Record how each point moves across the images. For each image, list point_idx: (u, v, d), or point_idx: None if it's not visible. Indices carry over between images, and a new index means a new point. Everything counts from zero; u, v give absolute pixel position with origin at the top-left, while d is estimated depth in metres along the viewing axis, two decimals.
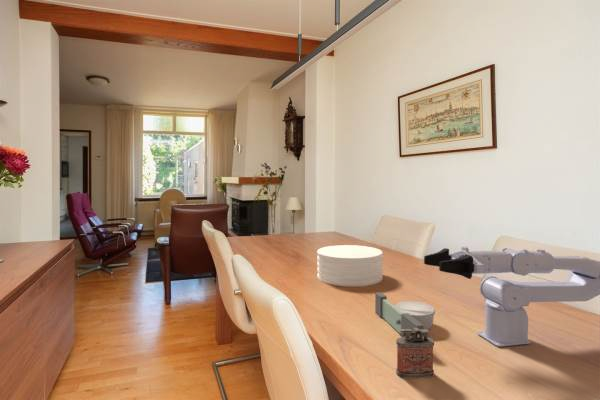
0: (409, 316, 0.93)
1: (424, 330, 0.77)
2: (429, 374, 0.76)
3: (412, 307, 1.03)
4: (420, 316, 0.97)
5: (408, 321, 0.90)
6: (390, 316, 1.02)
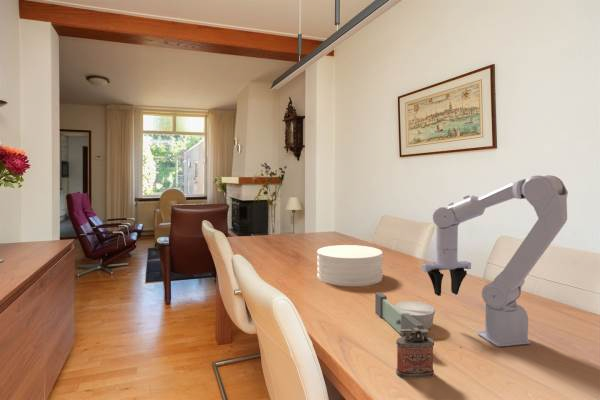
0: (409, 316, 0.93)
1: (424, 330, 0.77)
2: (429, 374, 0.76)
3: (412, 307, 1.03)
4: (420, 316, 0.97)
5: (408, 321, 0.90)
6: (390, 316, 1.02)
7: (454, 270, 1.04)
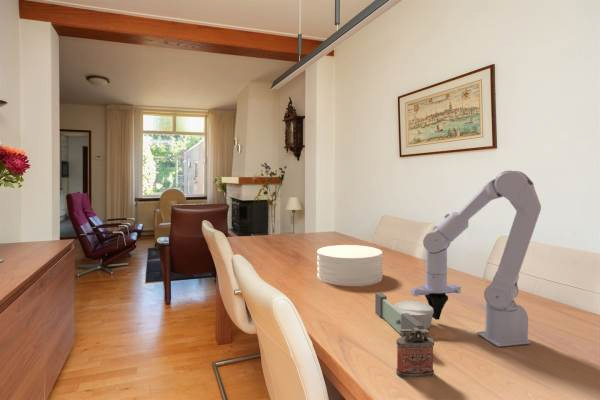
0: (409, 316, 0.93)
1: (424, 330, 0.77)
2: (429, 374, 0.76)
3: (411, 306, 1.03)
4: (418, 316, 0.97)
5: (408, 321, 0.90)
6: (390, 316, 1.02)
7: None
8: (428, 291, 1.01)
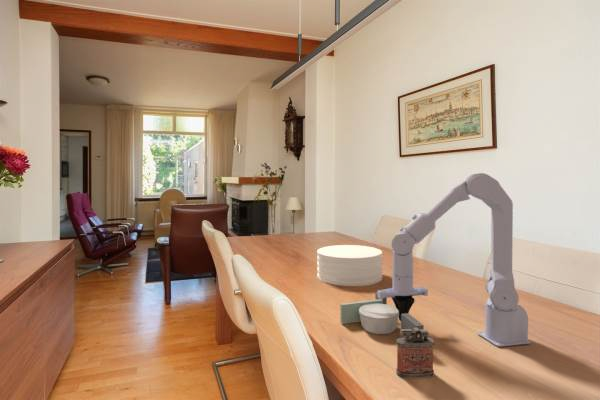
0: (409, 316, 0.93)
1: (424, 330, 0.77)
2: (429, 374, 0.76)
3: (377, 309, 1.01)
4: (379, 319, 0.95)
5: (408, 321, 0.90)
6: None
7: None
8: (394, 293, 0.99)
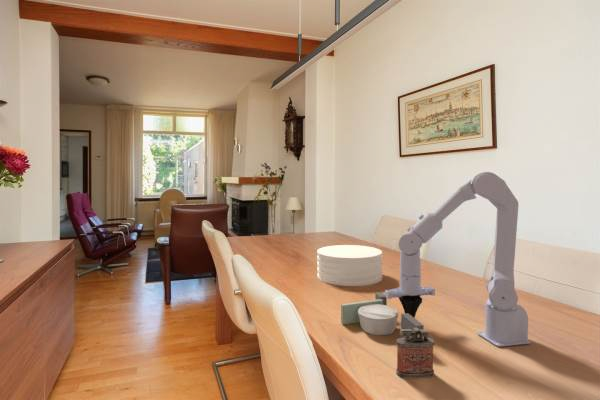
0: (409, 316, 0.93)
1: (424, 330, 0.77)
2: (429, 374, 0.76)
3: (376, 310, 1.01)
4: (378, 320, 0.95)
5: (408, 321, 0.90)
6: None
7: (410, 297, 1.02)
8: (401, 293, 1.00)
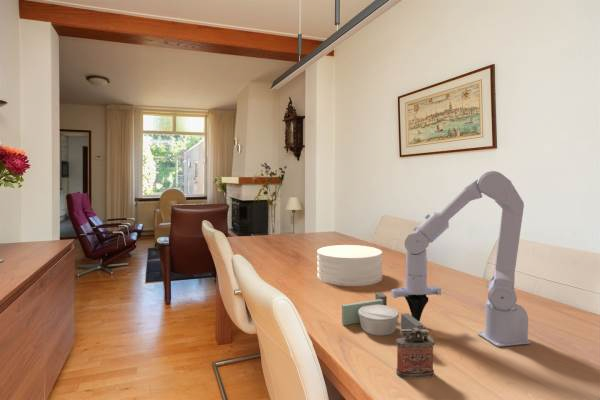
0: (409, 316, 0.93)
1: (424, 330, 0.77)
2: (429, 374, 0.76)
3: (376, 310, 1.01)
4: (379, 320, 0.95)
5: (408, 321, 0.90)
6: None
7: (416, 296, 1.03)
8: (408, 292, 1.00)
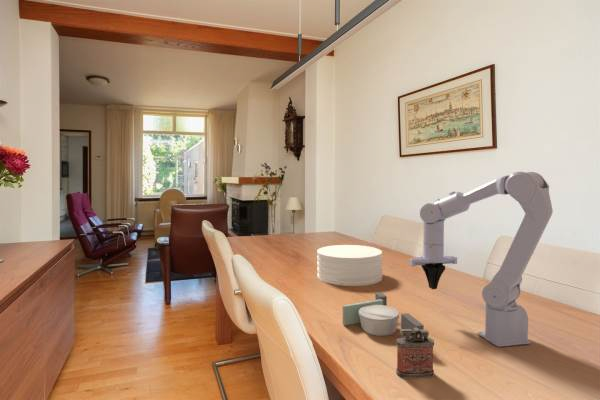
0: (409, 316, 0.93)
1: (424, 330, 0.77)
2: (429, 374, 0.76)
3: (377, 310, 1.01)
4: (379, 320, 0.95)
5: (408, 321, 0.90)
6: None
7: (433, 265, 1.07)
8: (425, 261, 1.04)
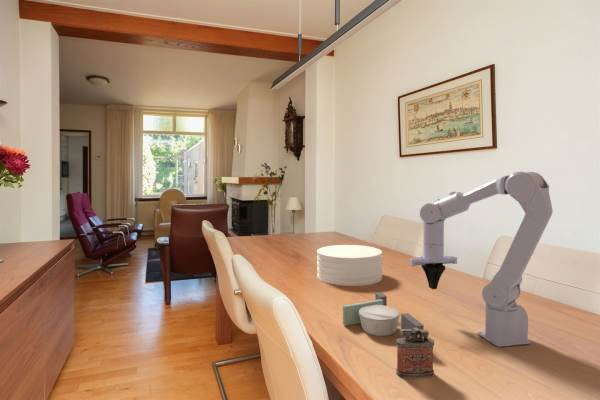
0: (409, 316, 0.93)
1: (424, 330, 0.77)
2: (429, 374, 0.76)
3: (377, 310, 1.01)
4: (379, 320, 0.95)
5: (408, 321, 0.90)
6: None
7: (433, 265, 1.07)
8: (425, 261, 1.04)
